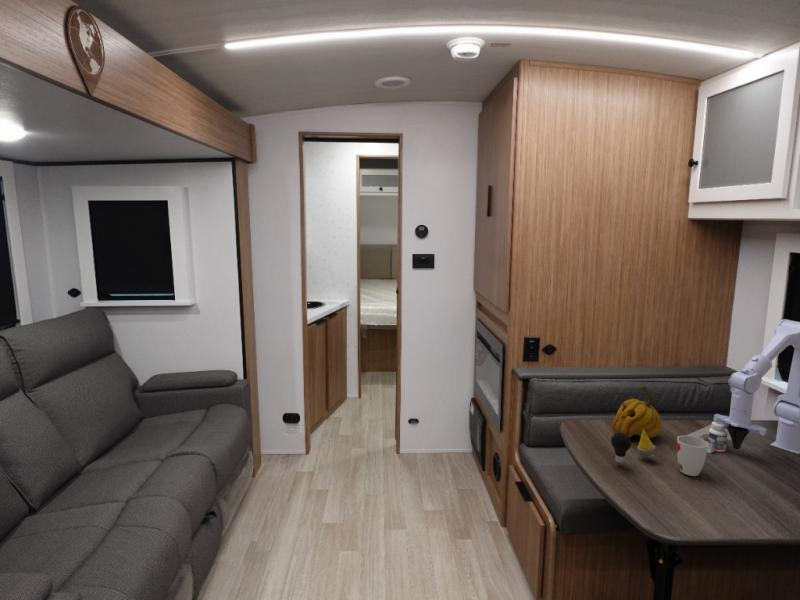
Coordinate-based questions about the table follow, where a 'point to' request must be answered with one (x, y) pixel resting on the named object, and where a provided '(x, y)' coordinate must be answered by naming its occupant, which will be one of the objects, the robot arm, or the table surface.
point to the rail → (704, 434)
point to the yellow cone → (645, 445)
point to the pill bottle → (718, 436)
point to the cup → (691, 454)
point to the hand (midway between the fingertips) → (736, 448)
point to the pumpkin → (637, 417)
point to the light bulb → (620, 445)
